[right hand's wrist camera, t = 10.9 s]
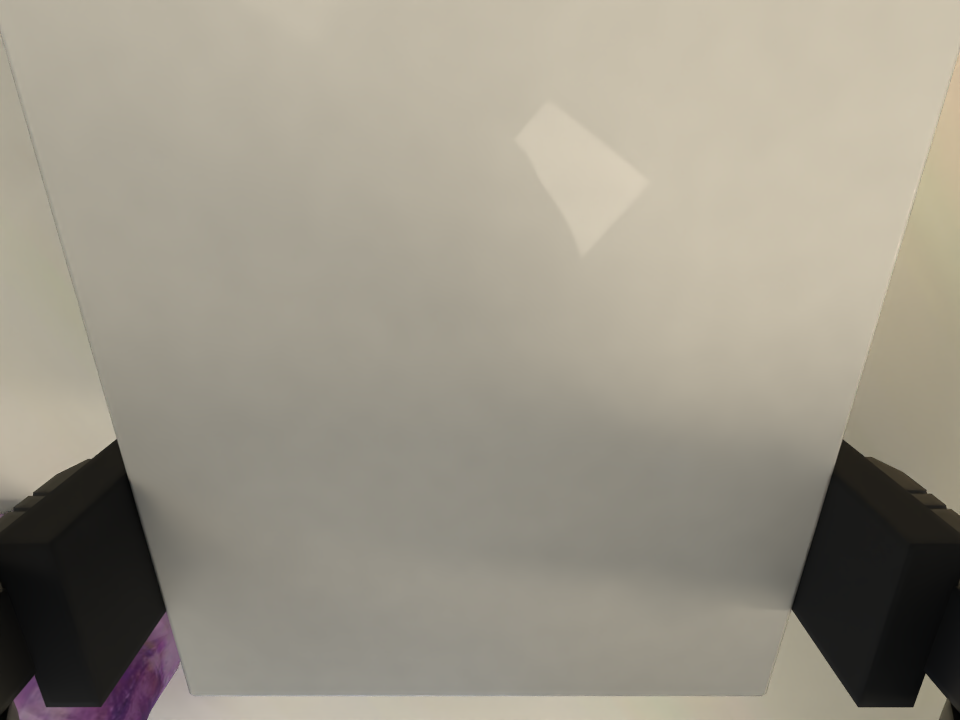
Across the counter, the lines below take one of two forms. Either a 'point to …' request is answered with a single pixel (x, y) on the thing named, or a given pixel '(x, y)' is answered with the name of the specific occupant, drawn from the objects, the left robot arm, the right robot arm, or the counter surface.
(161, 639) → the figurine
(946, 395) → the counter surface
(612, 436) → the cabinet
